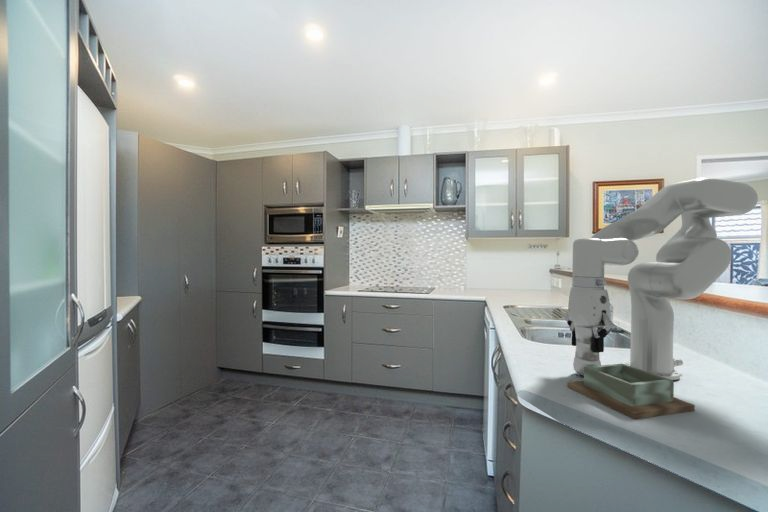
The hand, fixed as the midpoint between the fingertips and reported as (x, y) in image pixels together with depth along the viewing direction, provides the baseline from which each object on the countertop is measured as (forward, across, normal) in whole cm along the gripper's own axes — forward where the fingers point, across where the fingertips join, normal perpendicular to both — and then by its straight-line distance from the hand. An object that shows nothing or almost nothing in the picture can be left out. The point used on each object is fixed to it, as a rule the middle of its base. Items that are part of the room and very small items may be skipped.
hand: (587, 348), depth 93 cm
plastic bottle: (+8, 0, 0) cm, 8 cm away
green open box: (+8, -14, +3) cm, 16 cm away
